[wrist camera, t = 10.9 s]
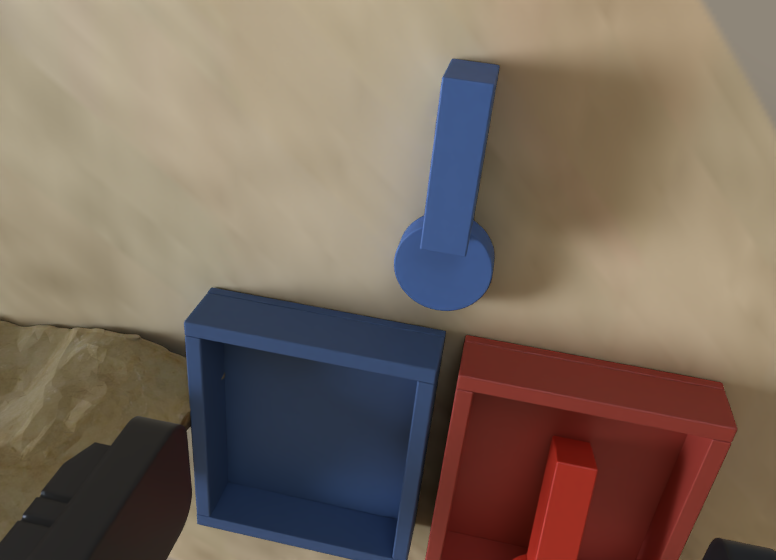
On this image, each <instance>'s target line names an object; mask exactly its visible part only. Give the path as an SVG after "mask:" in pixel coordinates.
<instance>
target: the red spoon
mask: <svg viewBox="0 0 776 560" xmlns="http://www.w3.org/2000/svg"><path fill="white" fill-rule="evenodd" d="M597 473H598V469H597V465H596V462H595V458H594V454H593V451H592V447H591V444H590V443H589V442H584V441H579V440H574V439H569V438H564V437H559V436H553V437H552V440H551V445H550V449H549V454H548V459H547V463H546V468H545V472H544V477H543V482H542V486H541V491H540V496H539V500H538V505H537V510H536V514H535V519H534V523H533V528H532V533H531V537H530V542H529V547H528V551H527V554H524V555H521V556H518V557H516V558H514V559H513V560H577V558H578V554H579V550H580V546H581V541H582V537H583V533H584V528H585V524H586V520H587V516H588V511H589V507H590V503H591V499H592V494H593V490H594V486H595V482H596V477H597Z"/></svg>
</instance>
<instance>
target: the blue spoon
mask: <svg viewBox="0 0 776 560" xmlns="http://www.w3.org/2000/svg"><path fill="white" fill-rule="evenodd" d="M499 68H500V67H499V65H495V64H488V63H481V62H474V61H467V60H459V59H452V60H451V62H450V64H449V66H448V68H447V70H446V72H445V74H444V76H443V78H442V83H441V91H440V99H439V106H438V114H437V122H436V129H435V137H434V145H433V152H432V160H431V168H430V176H429V183H428V191H427V199H426V206H425V214H424V216H422V217H420V218H419V219H417V220H415V221H414V222H413V223H412V224H411V225H410V226H409V227H408V228H407V229H406V231H405V232H404V234H403V236H402V238H401V241H400V243H399V246H398V248H397V251H396V254H395V259H394V269H395V274H396V278H397V280H398V282H399V284H400V286H401V288H402V289H403V290H404V292H405V293H406V294H407V295H408V296H409V297H410V298H412V299H413V300H414V301H416V302H417V303H419V304H421V305H423V306H425V307H428V308H430V309H435V310H441V311H452V310H458V309H462V308H465V307H467V306H469V305H471V304H473V303H475V302H476V301H477V300H479V299H480V298H481V297H482V296H483V295H484V293H485V292H486V291H487V289H488V287H489V285H490V283H491V279H492V274H493V267H494V259H495V258H494V248H493V245H492V242H491V240H490V238H489V236H488V234H487V233H486V231H485V230H484V229H483V228H482V227H481V226H480V225H479V224H478V223H476V222H475V221H474V215H475V209H476V203H477V197H478V191H479V185H480V179H481V174H482V168H483V162H484V156H485V150H486V144H487V138H488V132H489V126H490V121H491V115H492V109H493V103H494V97H495V91H496V85H497V79H498V74H499Z"/></svg>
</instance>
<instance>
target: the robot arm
mask: <svg viewBox="0 0 776 560" xmlns="http://www.w3.org/2000/svg"><path fill="white" fill-rule="evenodd" d="M191 498H192V486H191V475H190V463H189V452H188V441H187V432H186V428H185V427H184V426H183V425H180V424H175V423H171V422H166V421H161V420H156V419H151V418H146V417H142V416H136V417H134V418H132V419H131V420H130V421H129V422H128V423H127V425H126V426H125V427H124V429H123V430H122V431H121V433H120V434H119V435H118V437H117V438H116V439H115V441H114V442H113V443H112V445H111V446H110V445H105V444H101V443H96V442H95V443H93V444H92V445H90V446H89V447H87V448H86V449H84V450H83V451H81V452H80V453H78V454H77V455H75V456H74V457H72V458H71V459H69V460H68V461H66V462H65V463H63V465H62V466H61V467H60V468H59V470H58V471H57V472H56V473H55V475H54V476H53V477H52V478H51V480H50V481H49V482H48V483H47V485H46V486H45V487H44V488H43V490H42V491H41V495H40V497H36V498H35V500H34V501H33V502H32V503H31V505H30V506H29V507H28V508H27V509H26V511H25V512H24V513H23V517H22V519H21V520H20V521H19V520H18V521H17V522H16V523H15V524H14V526H13V527H12V528H11V529H10V531H9V532H8V533H7V534H6V536H5V537H4V538H3V539H2V541H1V542H0V560H166V559H167V557H168V555H169V554H170V552H171V550H172V548H173V546H174V544H175V543H176V541H177V539H178V537H179V535H180V533H181V531H182V530H183V527H184V525H185V522H186V520H187V517H188V513H189V509H190V505H191ZM702 560H776V552H775V551H774V550H773V549H770V548H765V547H760V546H755V545H750V544H746V543H741V542H736V541H731V540H726V539H721V538H715V539H714V540H713V541H712V542H711V544H710V545H709V547H708V549H707V551H706V553H705V555H704V557H703V559H702Z"/></svg>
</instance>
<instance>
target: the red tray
mask: <svg viewBox="0 0 776 560" xmlns="http://www.w3.org/2000/svg"><path fill="white" fill-rule="evenodd" d="M736 432H737V426H736V423H735V420H734V417H733V414H732V411H731V408H730V405H729V402H728V399H727V396H726V393H725V391H724V387H723V384H722V383H721V382H716V381H711V380H705V379H700V378H695V377H689V376H684V375H678V374H673V373H668V372H662V371H657V370H652V369H646V368H641V367H636V366H630V365H625V364H620V363H614V362H609V361H603V360H598V359H593V358H587V357H582V356H577V355H571V354H566V353H561V352H555V351H550V350H545V349H539V348H534V347H528V346H523V345H518V344H512V343H507V342H502V341H496V340H491V339H486V338H480V337H475V336H470V335H466V336H465V341H464V347H463V352H462V358H461V363H460V369H459V375H458V380H457V386H456V391H455V397H454V402H453V408H452V413H451V419H450V425H449V430H448V436H447V441H446V447H445V452H444V458H443V463H442V469H441V475H440V480H439V486H438V491H437V497H436V502H435V508H434V513H433V519H432V525H431V530H430V536H429V541H428V547H427V552H426V558H425V560H513V559H514V558H516V557H518V556H521V555H524V554H527V551H528V547H529V542H530V537H531V533H532V528H533V523H534V519H535V514H536V510H537V505H538V500H539V496H540V491H541V486H542V482H543V477H544V472H545V468H546V463H547V459H548V454H549V449H550V445H551V440H552V437H553V436H559V437H564V438H569V439H574V440H579V441H584V442H589V443H590V444H591V447H592V451H593V454H594V458H595V462H596V465H597V469H598V473H597V477H596V482H595V486H594V490H593V494H592V499H591V503H590V507H589V511H588V516H587V520H586V524H585V528H584V533H583V537H582V541H581V546H580V550H579V554H578V558H577V560H678V559H679V557H680V555H681V552H682V550H683V548H684V546H685V544H686V542H687V539H688V537H689V535H690V533H691V531H692V528H693V526H694V524H695V522H696V520H697V518H698V515H699V513H700V511H701V509H702V507H703V504H704V502H705V500H706V498H707V496H708V494H709V491H710V489H711V487H712V485H713V483H714V480H715V478H716V476H717V474H718V472H719V470H720V467H721V465H722V463H723V461H724V459H725V457H726V454H727V452H728V450H729V448H730V446H731V442H732V441H733V438H734V436H735V434H736Z"/></svg>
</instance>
